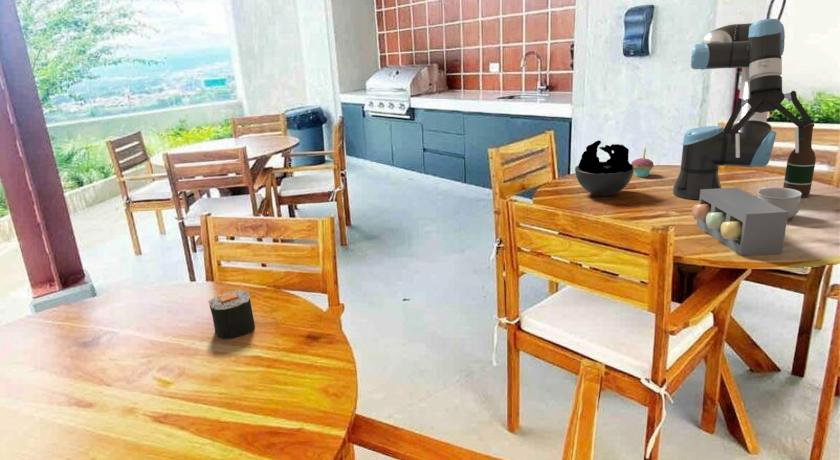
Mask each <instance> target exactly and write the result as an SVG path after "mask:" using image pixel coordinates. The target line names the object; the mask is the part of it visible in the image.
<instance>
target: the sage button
mask: <svg viewBox="0 0 840 460" xmlns="http://www.w3.org/2000/svg"><path fill="white" fill-rule="evenodd" d="M725 220H726V214H725V213H724V212H714V213H708V214H707V216H706V225H707V227H708V228H709V229H718V228H721V225H722V223H723V222H725Z"/></svg>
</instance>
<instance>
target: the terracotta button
mask: <svg viewBox="0 0 840 460" xmlns="http://www.w3.org/2000/svg"><path fill="white" fill-rule="evenodd" d="M710 212H711V205H710V204H699V203H698V204H694V205H693V206H692V211H691V213H692V217H693V219H695V221H697V220H703V219H706V216H707V214H708V213H710Z"/></svg>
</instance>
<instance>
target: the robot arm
mask: <svg viewBox="0 0 840 460" xmlns="http://www.w3.org/2000/svg"><path fill="white" fill-rule="evenodd" d="M785 33H786V32H785V27H784V24H783V23H782V22H781V20H780V19H777V18H765V19H760V20H757V21H755V22H750V23H737V24H727V25H725V26H721V27H718V28H716V29H713V30H711V31H710V32H708V33H707V34H706V35H705V36H704V38H702V41H701V43H695V44H694V45H693V46H692V49H691V57H690V67H691V68H692V69H693V70H710V69H711V70H713V69H714V70H715V69H717V70H718V69H739V68H740V69H742V71H741V78H740V80H741V81H740V89H739V96H738V98H736V102H735V107H734V109H733V111H732V112H731V115H730V117H729V119H728V121H727V122H726V125H725V126H724V127H723V126H722V125H707V126H699V127H695V128H691V129H689V130H687V131H686V132H685V133H684V135H683V141H682V143H681V145H682V153H681V163H680V171H679V174H678V176H677V178H676V180H675V182H674V185H673V186H672V187H673V189H672V194H673V195H674V196H675V197H679V198H682V199H683V198H684V199H689V200H699V198H700V189H718V188H722V185H721V181H720V176H719V167H720V166H721V167H740V168H741V167H743V168H764V167H766V166H768V164H770V163H769V162H770V159H771V155H772V152H773V148H774V145H775V141H776V137H777V134H778V133H777V132H776V131H774V130H772V125H771V124H770V123H769V122H768V121H767V120H768V113H771V112H774V111H776V110H777V111H778V113H781V114H782V115H783V116H784V117H786V118H787V119H788V120H789V121H790V122H792V123H793V124H794V125H795V126H796V127H794V149H795V153H799V140H803V139H804V127H805V126H808V125H811V124H812V123H813V119H812V118H811V117H810V115H809V114H808V112H807V110H806V109H805V108H804V106H803V105H802V103H801V102H800V101H799V98H798V95H797V91H795V90H792V91H791V92H787V93H784V92H783V76H781V75H782V74H783V60H782V55H784V50H785V38H786V36H785ZM785 99H787V101H789V102H791V103H792V104H793V106H794V107H795V109H796V110H797V112H798V113H799V115H800V117H801V118H802V119H803V121H801V119H799V118H798V117H796V115H794V114H793V113H792V112H791V111H789V109H787V108H786V107H785V106H784V105H783V104H782V102H783V101H784V100H785Z"/></svg>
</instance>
